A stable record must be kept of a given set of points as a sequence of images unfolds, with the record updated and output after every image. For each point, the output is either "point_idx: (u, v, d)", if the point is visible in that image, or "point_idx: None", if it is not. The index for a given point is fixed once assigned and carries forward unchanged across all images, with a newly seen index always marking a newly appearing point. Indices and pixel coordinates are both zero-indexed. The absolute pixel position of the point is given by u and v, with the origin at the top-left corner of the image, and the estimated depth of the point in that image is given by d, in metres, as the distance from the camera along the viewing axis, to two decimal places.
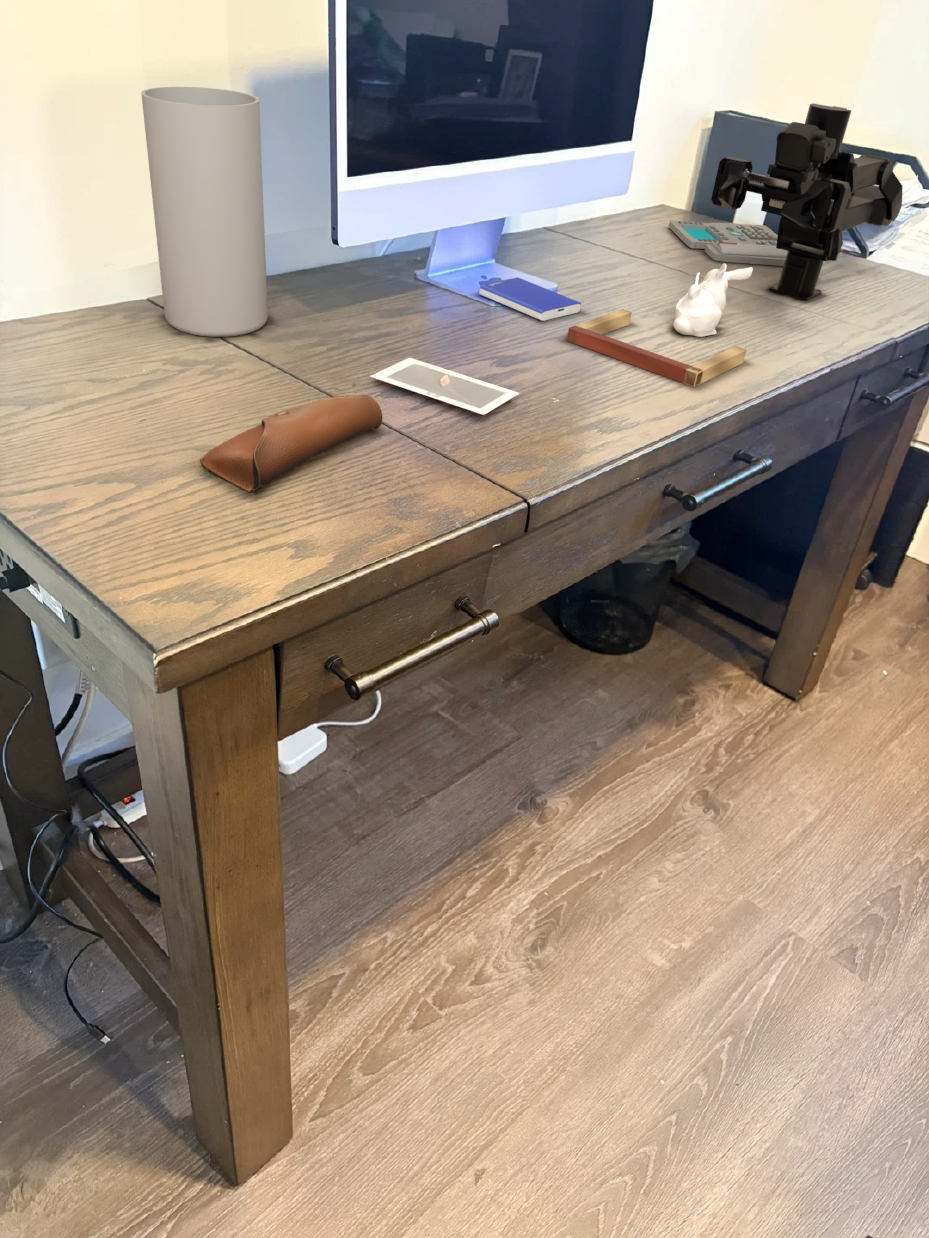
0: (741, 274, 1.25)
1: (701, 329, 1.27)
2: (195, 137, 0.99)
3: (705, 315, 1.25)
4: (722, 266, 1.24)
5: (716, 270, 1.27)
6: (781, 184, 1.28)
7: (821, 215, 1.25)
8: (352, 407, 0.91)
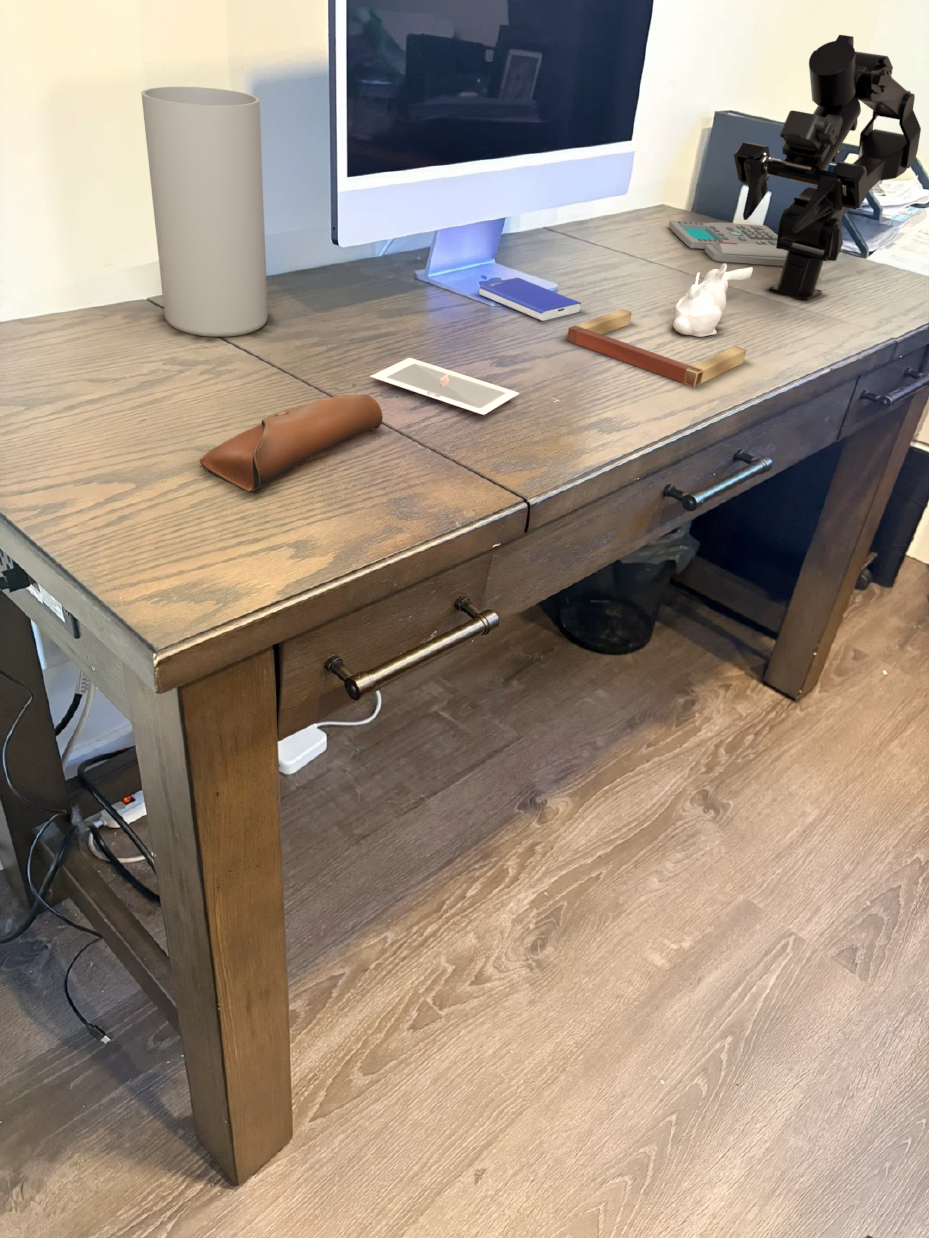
0: (741, 274, 1.25)
1: (701, 329, 1.27)
2: (196, 137, 0.99)
3: (705, 315, 1.25)
4: (722, 266, 1.24)
5: (716, 270, 1.27)
6: (799, 168, 1.30)
7: (837, 201, 1.29)
8: (352, 407, 0.91)
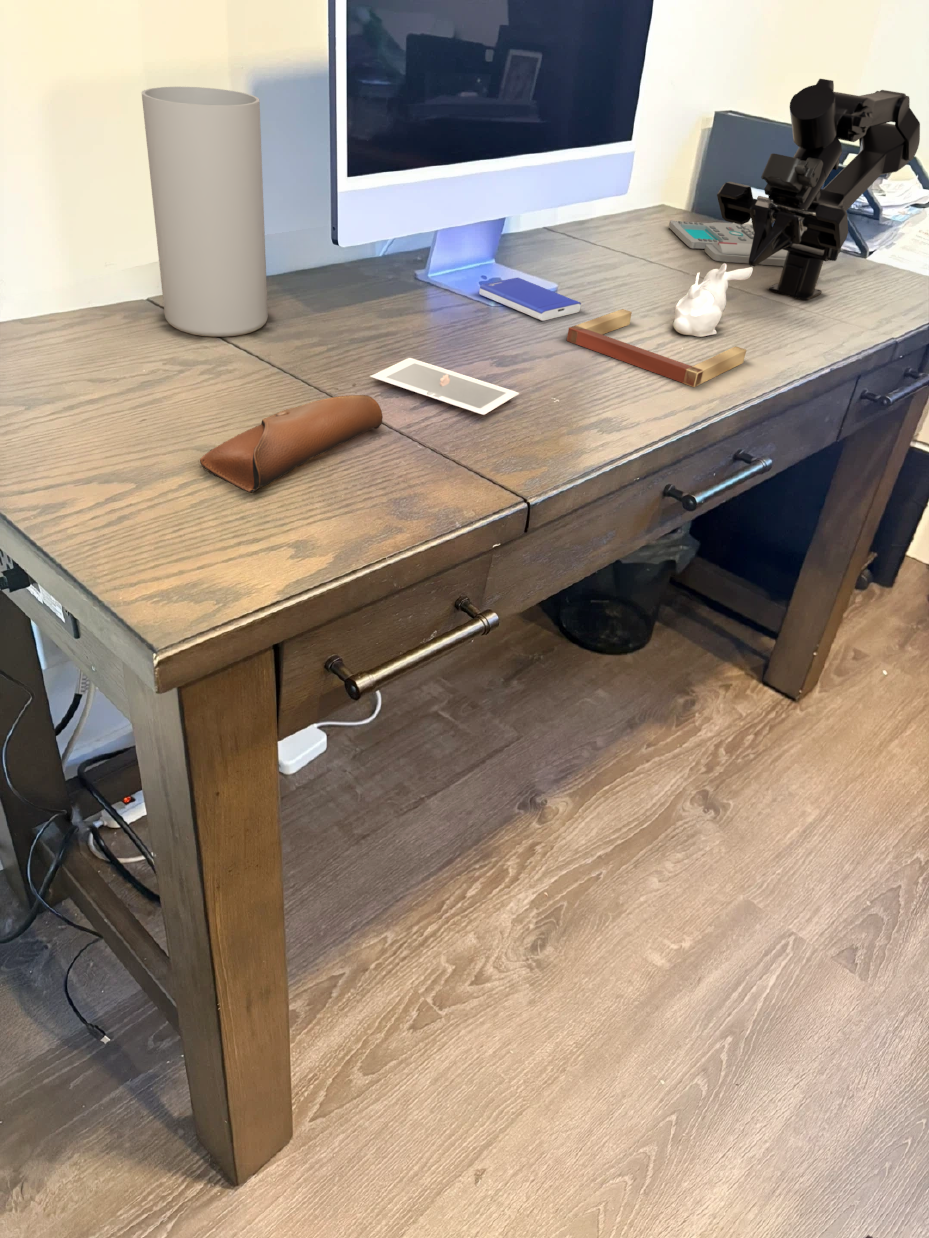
0: (741, 274, 1.25)
1: (701, 329, 1.27)
2: (196, 137, 0.99)
3: (705, 315, 1.25)
4: (722, 266, 1.24)
5: (716, 270, 1.27)
6: (780, 208, 1.32)
7: (795, 235, 1.32)
8: (352, 407, 0.91)
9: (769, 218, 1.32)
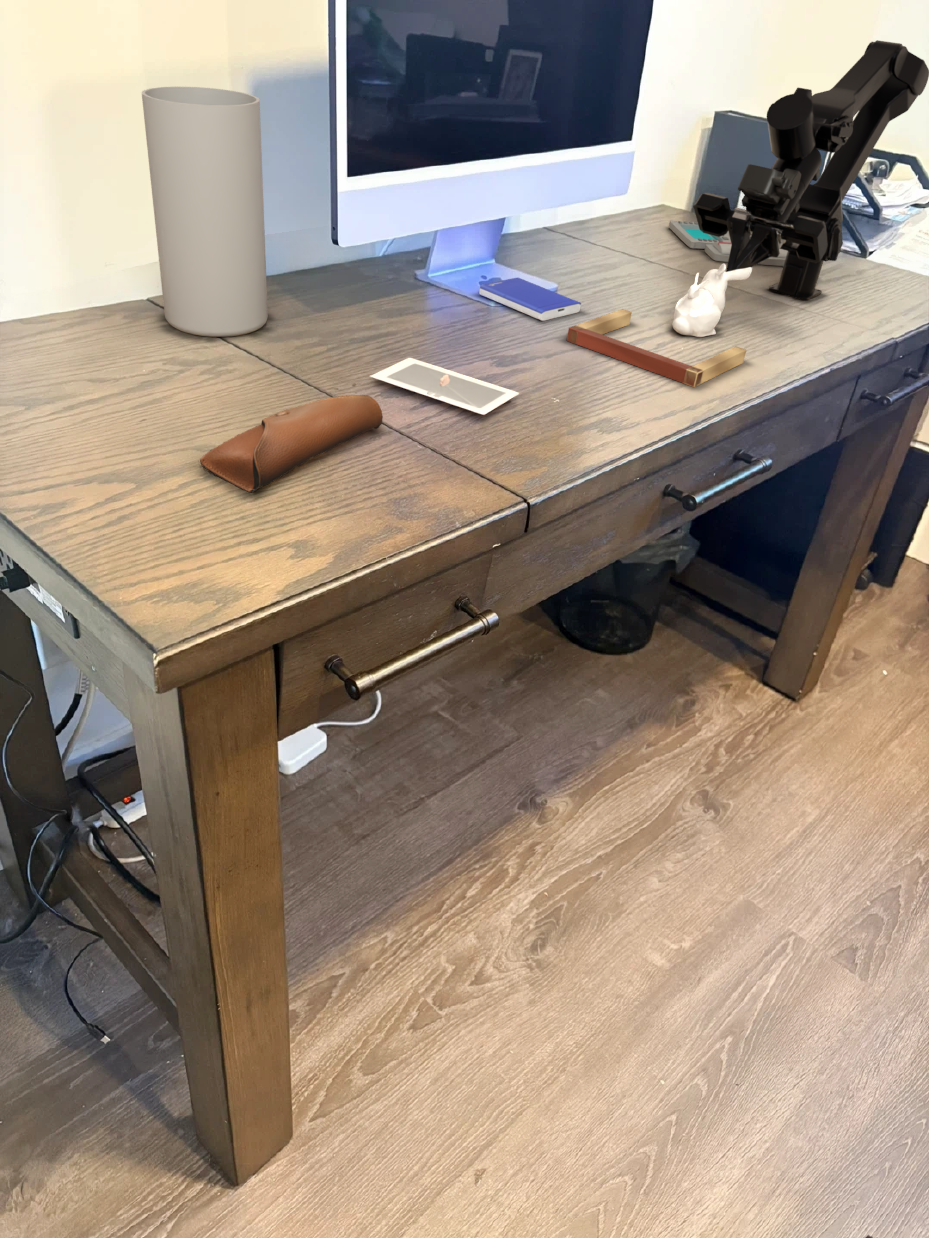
0: (740, 274, 1.25)
1: (700, 329, 1.26)
2: (196, 137, 0.99)
3: (704, 315, 1.25)
4: (721, 266, 1.24)
5: (715, 270, 1.27)
6: (758, 220, 1.28)
7: (773, 248, 1.28)
8: (352, 407, 0.91)
9: (746, 230, 1.28)
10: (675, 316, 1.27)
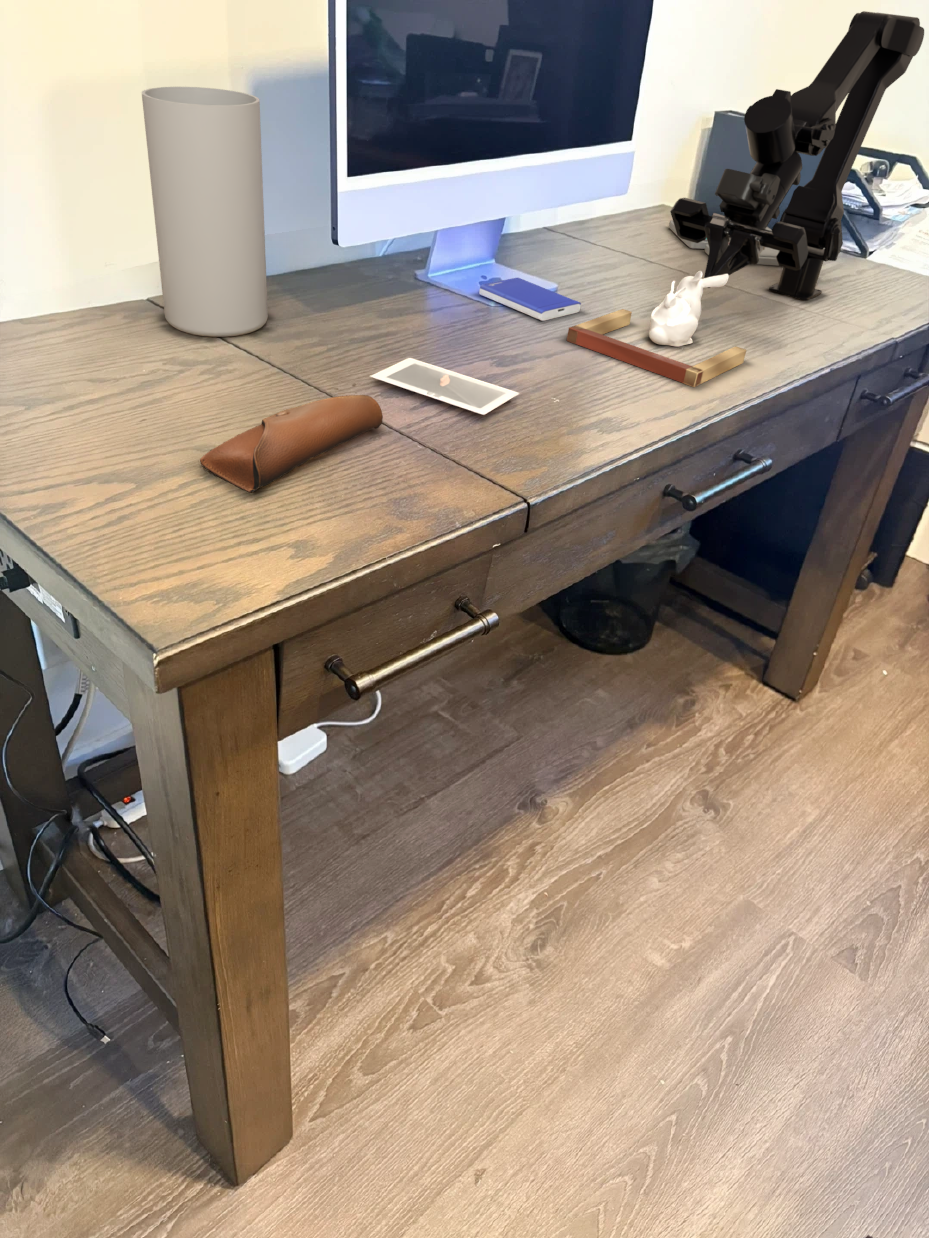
0: (717, 281, 1.22)
1: (678, 339, 1.23)
2: (196, 137, 0.99)
3: (682, 324, 1.21)
4: (697, 273, 1.20)
5: (690, 277, 1.24)
6: (737, 226, 1.24)
7: (752, 255, 1.24)
8: (352, 407, 0.91)
9: (725, 237, 1.24)
10: (651, 325, 1.23)
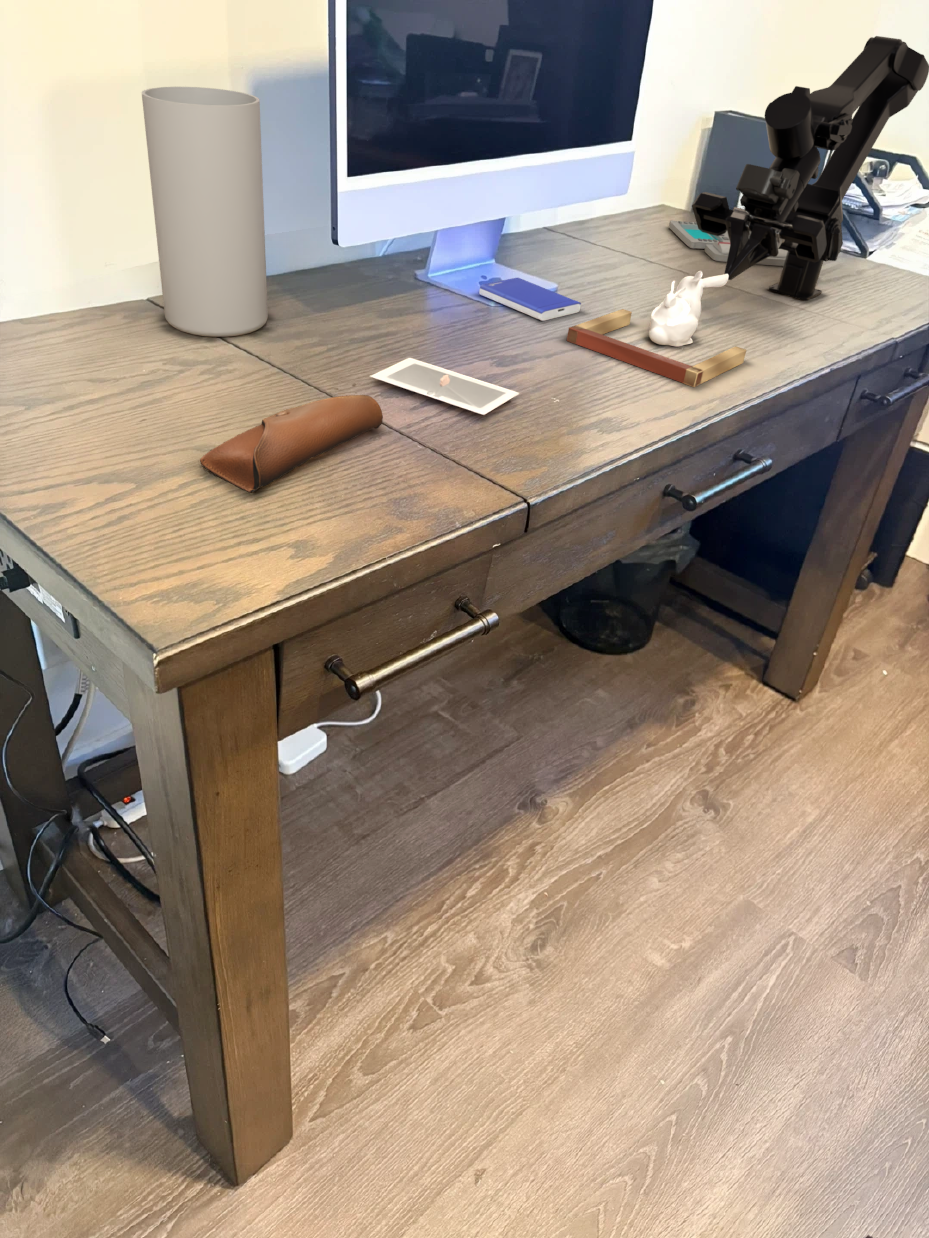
0: (717, 281, 1.22)
1: (678, 339, 1.23)
2: (196, 137, 0.99)
3: (682, 324, 1.21)
4: (697, 273, 1.20)
5: (690, 277, 1.24)
6: (757, 220, 1.27)
7: (772, 248, 1.28)
8: (352, 407, 0.91)
9: (745, 230, 1.28)
10: (651, 325, 1.23)
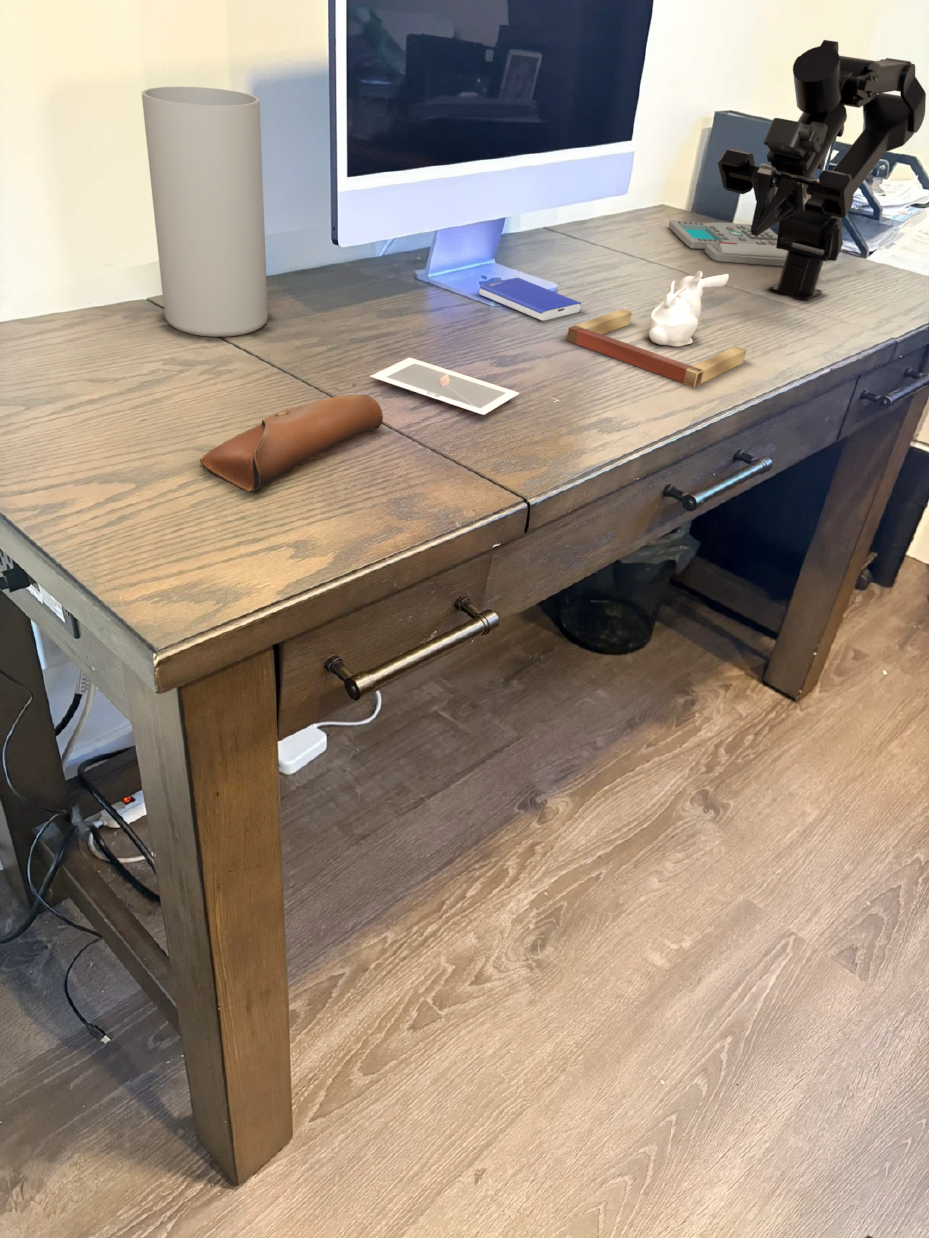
0: (717, 281, 1.22)
1: (678, 339, 1.23)
2: (196, 137, 0.99)
3: (682, 324, 1.21)
4: (697, 273, 1.20)
5: (690, 277, 1.24)
6: (783, 176, 1.28)
7: (798, 204, 1.28)
8: (352, 407, 0.91)
9: (772, 186, 1.28)
10: (651, 325, 1.23)
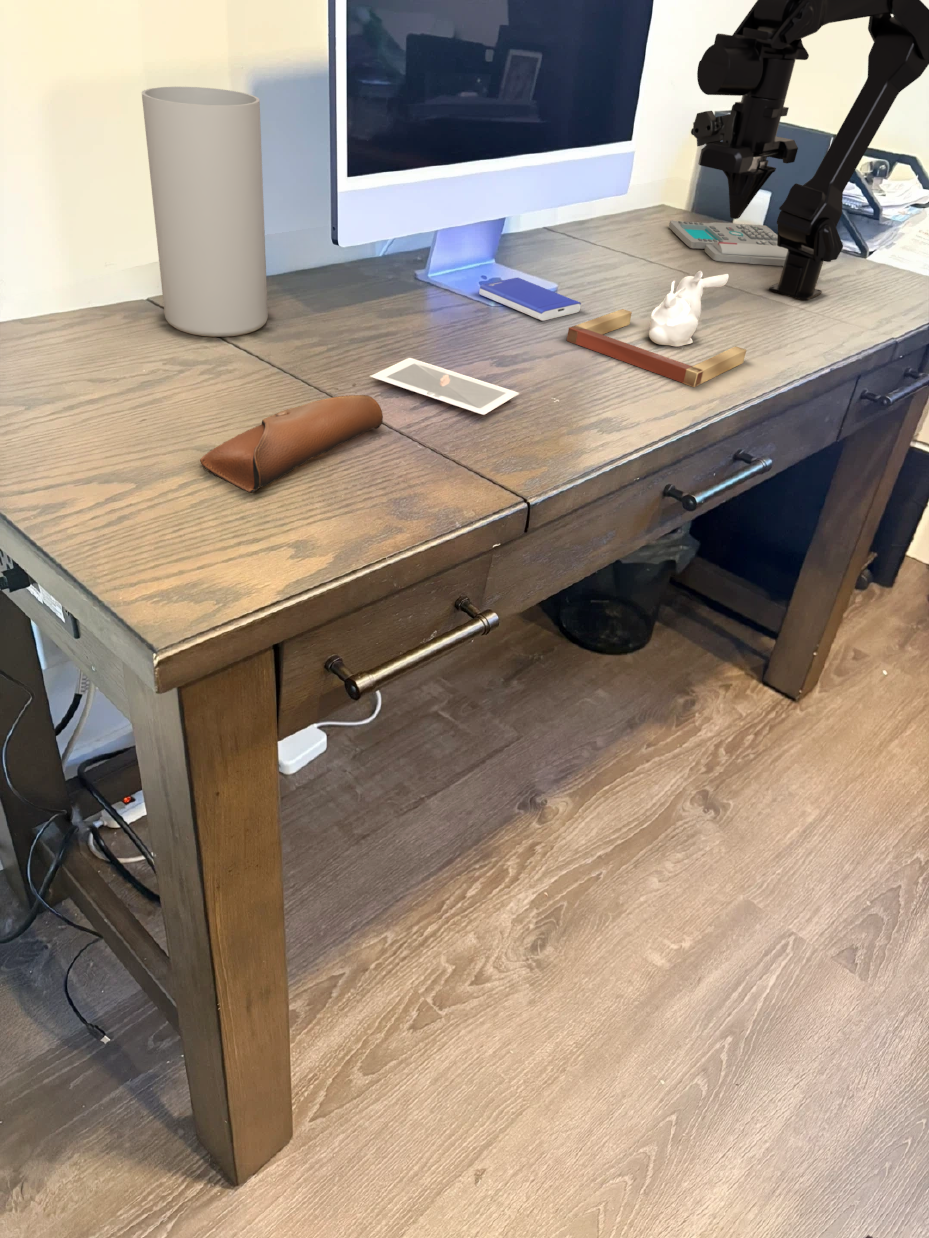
0: (717, 281, 1.22)
1: (678, 339, 1.23)
2: (196, 137, 0.99)
3: (682, 324, 1.21)
4: (697, 273, 1.20)
5: (690, 277, 1.24)
6: None
7: (742, 173, 1.29)
8: (352, 407, 0.91)
9: None
10: (651, 325, 1.23)
